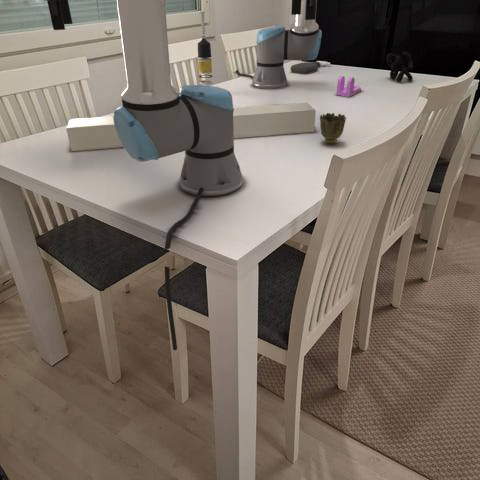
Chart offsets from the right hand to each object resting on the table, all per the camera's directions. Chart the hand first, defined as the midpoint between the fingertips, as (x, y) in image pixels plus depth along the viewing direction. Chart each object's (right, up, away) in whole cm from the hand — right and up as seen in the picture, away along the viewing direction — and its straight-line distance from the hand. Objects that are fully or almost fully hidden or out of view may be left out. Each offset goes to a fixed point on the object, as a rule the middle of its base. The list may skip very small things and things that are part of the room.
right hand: (302, 17), depth 128 cm
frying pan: (+18, +22, +96) cm, 100 cm away
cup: (+9, -35, +5) cm, 37 cm away
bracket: (+27, -3, +55) cm, 62 cm away
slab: (-32, -31, +12) cm, 46 cm away
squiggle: (+54, +8, +73) cm, 91 cm away
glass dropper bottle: (-32, -1, +61) cm, 69 cm away
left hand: (-65, -8, -10) cm, 66 cm away
